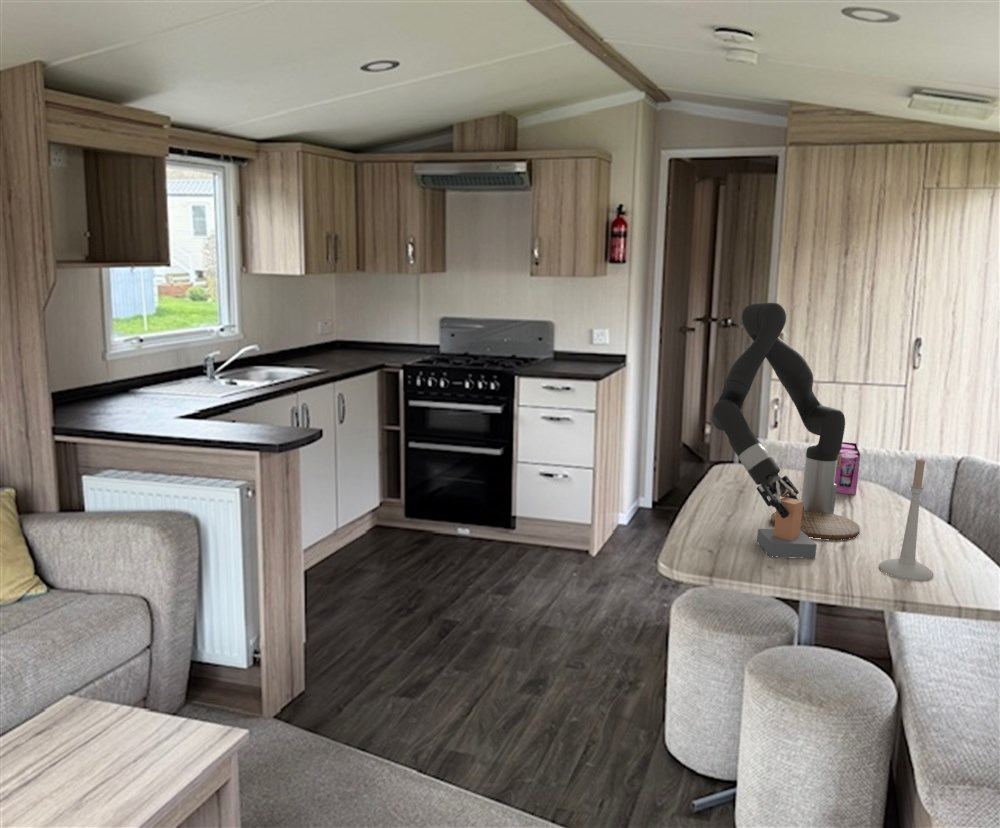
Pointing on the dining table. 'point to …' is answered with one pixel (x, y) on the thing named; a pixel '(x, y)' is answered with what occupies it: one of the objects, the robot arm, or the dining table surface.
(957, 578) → the dining table surface
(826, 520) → the trivet
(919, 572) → the candlestick
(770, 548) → the charcoal plinth
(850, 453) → the gum box
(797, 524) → the terracotta block
